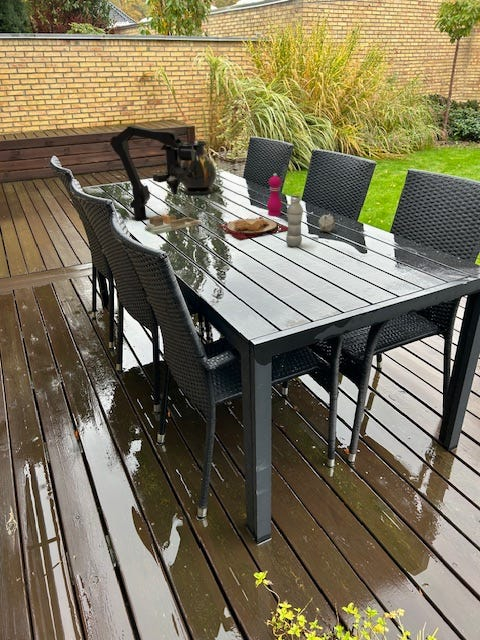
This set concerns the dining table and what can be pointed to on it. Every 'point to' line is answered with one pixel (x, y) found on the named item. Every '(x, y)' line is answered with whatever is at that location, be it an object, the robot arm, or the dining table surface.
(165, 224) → the sled
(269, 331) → the dining table surface
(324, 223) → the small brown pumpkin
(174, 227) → the deck
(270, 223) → the plate with food
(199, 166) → the amphora vase
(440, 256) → the dining table surface
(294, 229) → the plastic bottle
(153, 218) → the block
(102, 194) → the dining table surface
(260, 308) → the dining table surface
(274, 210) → the pepper mill
